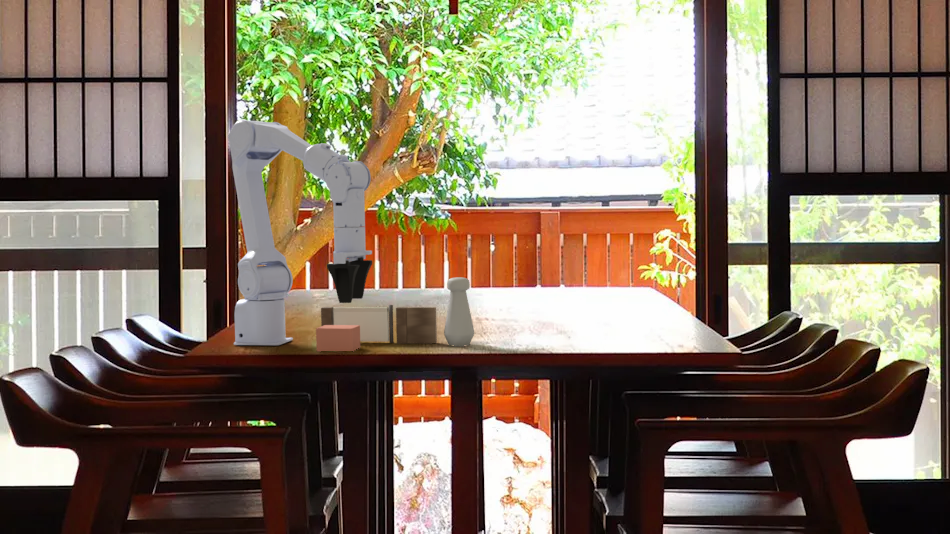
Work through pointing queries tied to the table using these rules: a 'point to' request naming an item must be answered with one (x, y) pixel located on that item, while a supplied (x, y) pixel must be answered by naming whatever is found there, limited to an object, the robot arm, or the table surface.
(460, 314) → the salt shaker
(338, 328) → the block
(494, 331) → the table surface
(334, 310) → the door
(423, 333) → the frame
